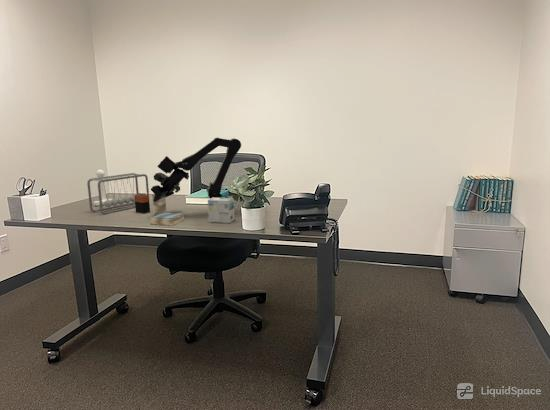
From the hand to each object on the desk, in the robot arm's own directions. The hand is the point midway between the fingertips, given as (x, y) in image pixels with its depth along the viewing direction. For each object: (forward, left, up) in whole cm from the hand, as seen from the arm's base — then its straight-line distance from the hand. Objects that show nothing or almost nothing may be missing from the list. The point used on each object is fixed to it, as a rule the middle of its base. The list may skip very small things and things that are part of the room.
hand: (156, 200), depth 206 cm
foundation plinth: (-13, +13, -7) cm, 20 cm away
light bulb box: (-37, +5, -7) cm, 38 cm away
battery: (+11, -3, -7) cm, 13 cm away
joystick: (+44, -15, -7) cm, 47 cm away
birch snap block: (-1, 0, -7) cm, 7 cm away
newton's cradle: (+28, -8, -8) cm, 30 cm away
